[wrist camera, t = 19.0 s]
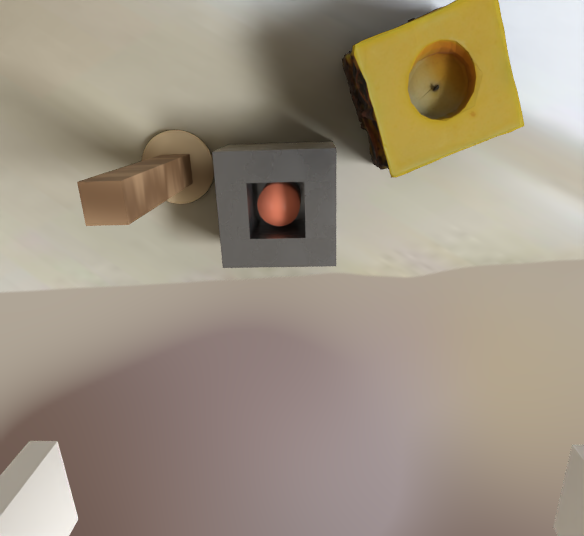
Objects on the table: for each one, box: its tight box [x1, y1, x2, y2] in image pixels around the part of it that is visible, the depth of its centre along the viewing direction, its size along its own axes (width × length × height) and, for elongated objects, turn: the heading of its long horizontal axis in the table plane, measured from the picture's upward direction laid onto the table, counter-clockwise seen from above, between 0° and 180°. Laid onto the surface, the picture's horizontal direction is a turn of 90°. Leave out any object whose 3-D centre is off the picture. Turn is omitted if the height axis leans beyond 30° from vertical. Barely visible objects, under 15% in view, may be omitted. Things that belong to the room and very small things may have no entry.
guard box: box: [212, 141, 336, 268], centre depth 41 cm, size 10×10×7 cm
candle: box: [342, 0, 524, 177], centre depth 36 cm, size 10×10×10 cm
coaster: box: [142, 130, 214, 204], centre depth 43 cm, size 7×7×1 cm
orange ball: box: [257, 182, 301, 226], centre depth 41 cm, size 4×4×4 cm
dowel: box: [77, 154, 193, 226], centre depth 36 cm, size 3×3×16 cm
